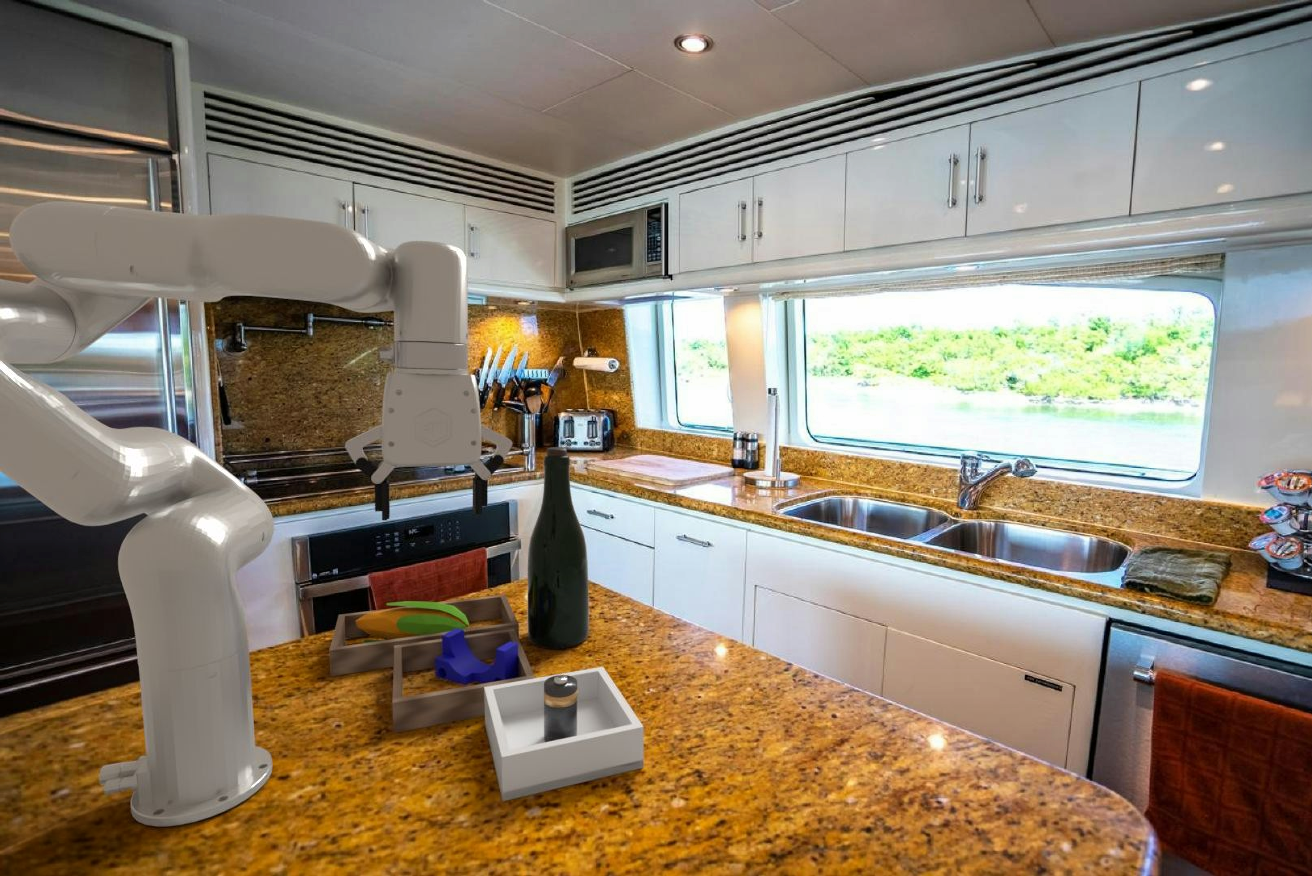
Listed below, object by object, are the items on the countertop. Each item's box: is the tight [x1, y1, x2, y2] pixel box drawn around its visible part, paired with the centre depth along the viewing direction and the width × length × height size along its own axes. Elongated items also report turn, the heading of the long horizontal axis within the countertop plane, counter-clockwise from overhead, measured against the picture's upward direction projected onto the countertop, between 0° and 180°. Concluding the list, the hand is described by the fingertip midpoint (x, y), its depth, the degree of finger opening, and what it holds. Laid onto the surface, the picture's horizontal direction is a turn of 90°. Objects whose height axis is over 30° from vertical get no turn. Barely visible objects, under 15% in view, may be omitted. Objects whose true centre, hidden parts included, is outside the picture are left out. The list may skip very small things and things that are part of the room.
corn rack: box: [328, 594, 520, 677], centre depth 107 cm, size 28×15×4 cm, turn 112°
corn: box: [355, 600, 470, 643], centre depth 105 cm, size 7×8×20 cm
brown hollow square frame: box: [392, 629, 536, 734], centre depth 91 cm, size 18×18×4 cm
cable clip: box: [434, 628, 519, 686], centre depth 94 cm, size 12×4×6 cm, turn 64°
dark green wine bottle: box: [526, 446, 590, 650], centre depth 107 cm, size 10×10×33 cm
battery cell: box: [544, 674, 578, 742], centre depth 77 cm, size 4×4×8 cm
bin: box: [484, 666, 645, 802], centre depth 77 cm, size 16×16×5 cm
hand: (432, 515), depth 71 cm, fingers open, 9 cm apart
